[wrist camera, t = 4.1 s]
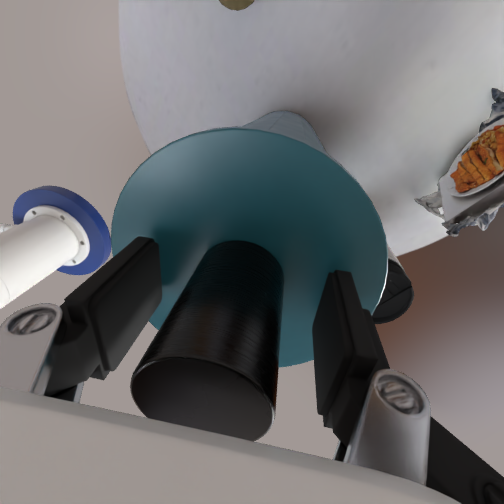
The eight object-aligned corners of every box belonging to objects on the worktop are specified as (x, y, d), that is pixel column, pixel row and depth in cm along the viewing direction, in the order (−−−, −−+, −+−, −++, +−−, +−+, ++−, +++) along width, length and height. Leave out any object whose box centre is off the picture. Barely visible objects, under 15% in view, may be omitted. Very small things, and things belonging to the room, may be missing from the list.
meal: (488, 85, 32) (594, 77, 21) (519, 101, 32) (639, 101, 21) (404, 196, 39) (447, 234, 28) (429, 208, 40) (482, 251, 28)
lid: (139, 328, 15) (45, 464, 10) (107, 105, 10) (-168, 112, 4) (337, 367, 15) (364, 540, 9) (430, 149, 9) (671, 236, 3)
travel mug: (317, 221, 43) (330, 301, 26) (351, 193, 40) (393, 262, 23) (341, 246, 45) (369, 338, 28) (376, 221, 42) (432, 306, 25)
